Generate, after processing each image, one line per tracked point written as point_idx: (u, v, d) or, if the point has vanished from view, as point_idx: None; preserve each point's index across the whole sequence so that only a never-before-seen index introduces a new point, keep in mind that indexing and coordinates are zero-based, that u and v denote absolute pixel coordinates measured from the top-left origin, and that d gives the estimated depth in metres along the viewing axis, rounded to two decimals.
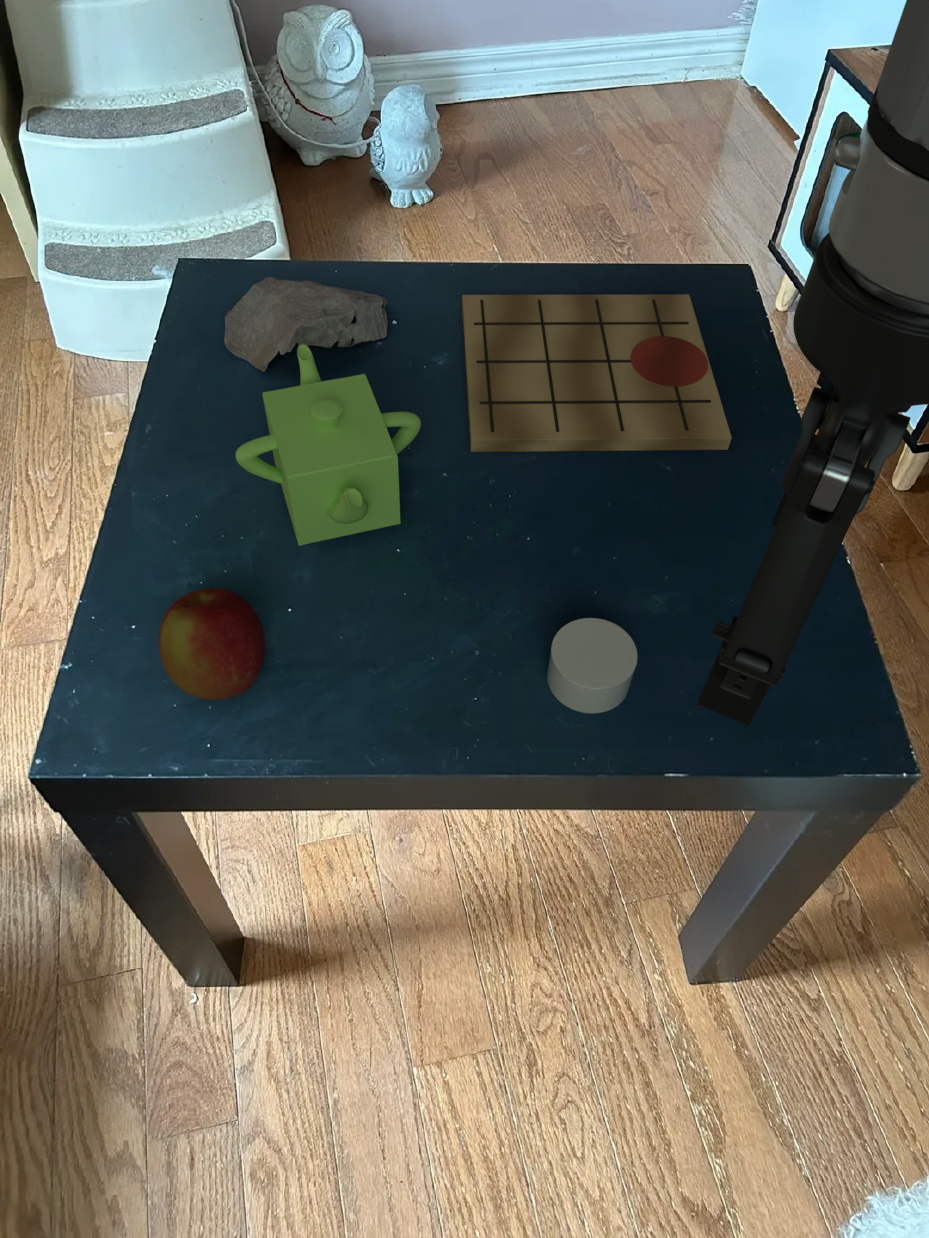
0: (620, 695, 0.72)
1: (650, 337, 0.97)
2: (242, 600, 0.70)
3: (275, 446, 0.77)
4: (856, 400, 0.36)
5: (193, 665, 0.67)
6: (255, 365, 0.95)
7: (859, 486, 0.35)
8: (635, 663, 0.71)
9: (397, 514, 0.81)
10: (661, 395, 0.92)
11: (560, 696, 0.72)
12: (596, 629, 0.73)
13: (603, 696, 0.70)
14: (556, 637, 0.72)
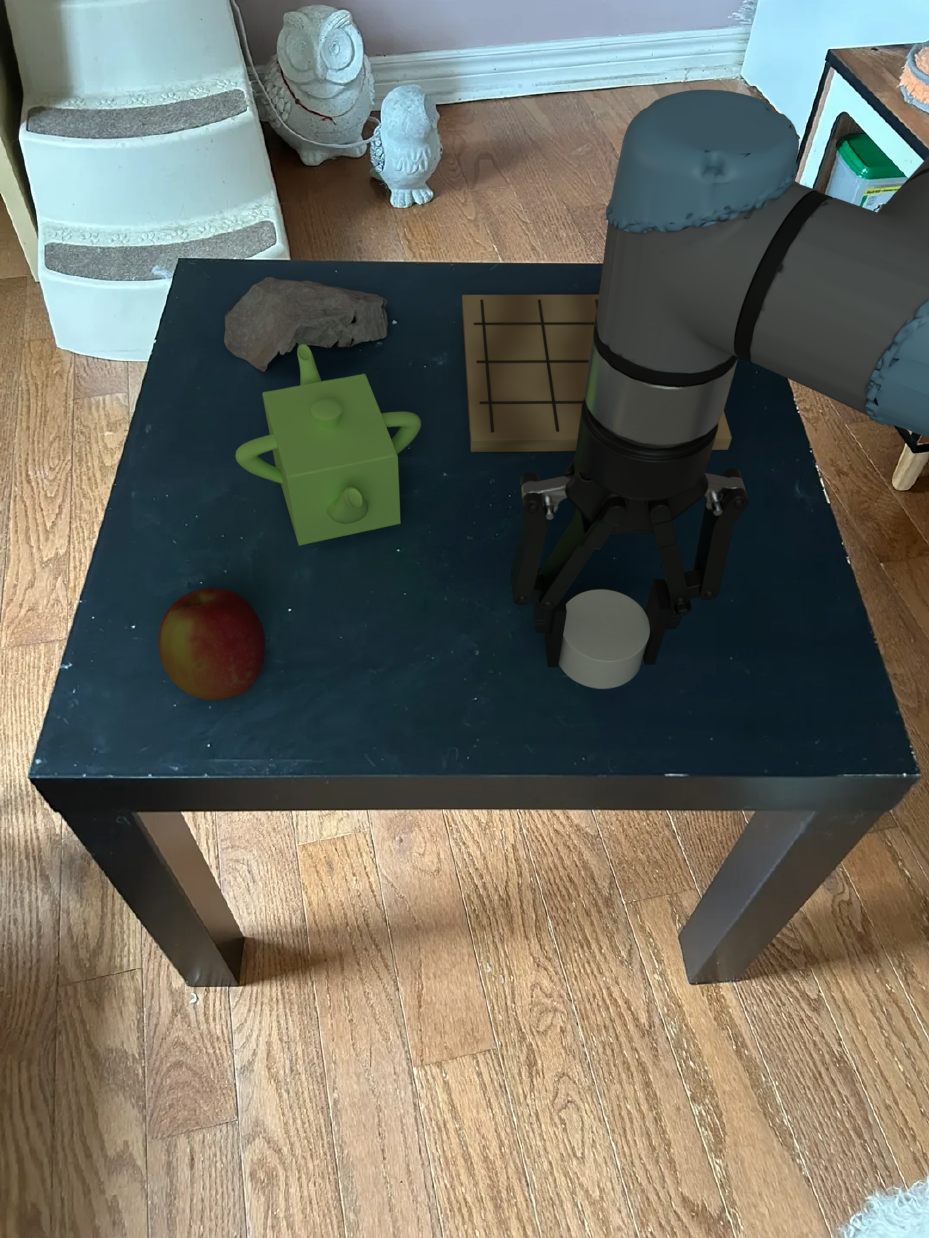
0: (632, 669, 0.68)
1: None
2: (242, 600, 0.70)
3: (275, 446, 0.77)
4: (575, 455, 0.56)
5: (193, 665, 0.67)
6: (255, 365, 0.95)
7: (523, 503, 0.57)
8: (647, 635, 0.68)
9: (397, 514, 0.81)
10: None
11: (569, 671, 0.69)
12: (606, 601, 0.70)
13: (614, 670, 0.67)
14: None
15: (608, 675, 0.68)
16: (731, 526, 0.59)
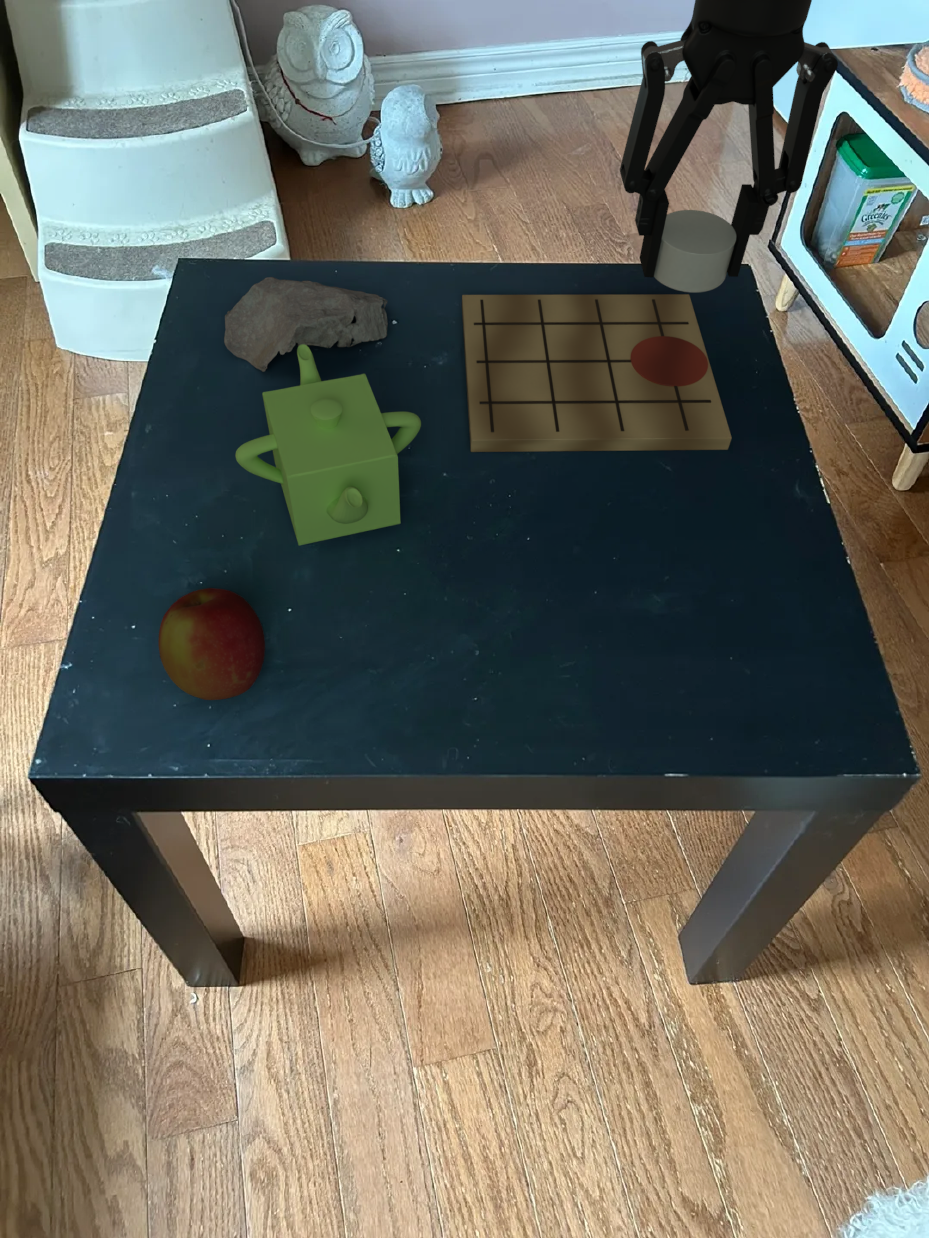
0: (720, 272, 0.78)
1: (650, 337, 0.97)
2: (242, 600, 0.70)
3: (275, 446, 0.77)
4: (693, 13, 0.65)
5: (193, 665, 0.67)
6: (255, 365, 0.95)
7: (646, 62, 0.66)
8: (735, 239, 0.78)
9: (397, 514, 0.81)
10: (661, 395, 0.92)
11: (664, 277, 0.79)
12: (696, 217, 0.79)
13: (706, 267, 0.77)
14: None
15: (700, 274, 0.78)
16: (820, 96, 0.69)
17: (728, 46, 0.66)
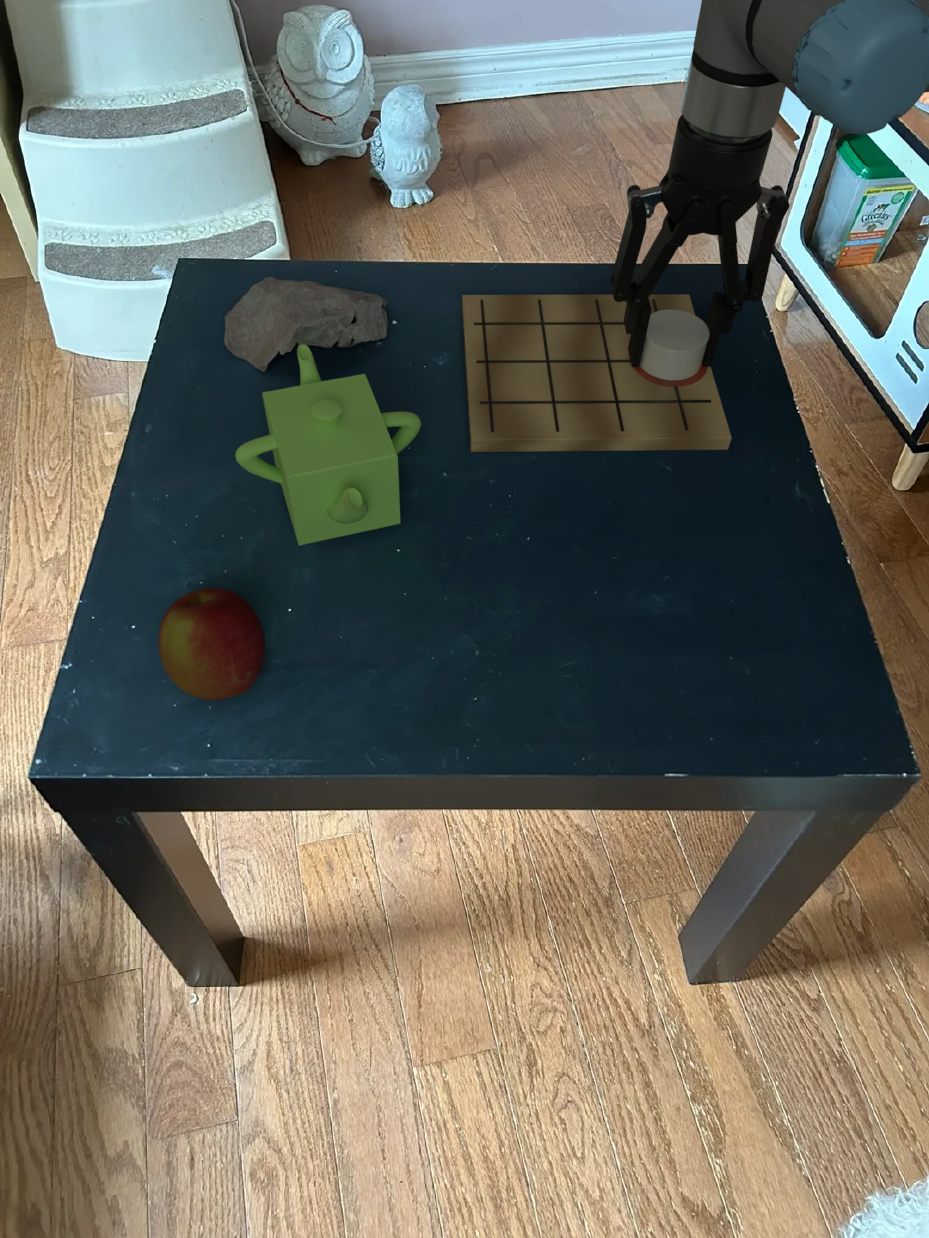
0: (695, 364, 0.92)
1: None
2: (242, 600, 0.70)
3: (275, 446, 0.77)
4: (669, 166, 0.79)
5: (193, 665, 0.67)
6: (255, 365, 0.95)
7: (630, 204, 0.81)
8: (708, 337, 0.92)
9: (397, 514, 0.81)
10: (661, 395, 0.92)
11: (648, 367, 0.93)
12: (676, 316, 0.93)
13: (683, 361, 0.91)
14: None
15: (678, 366, 0.92)
16: (776, 229, 0.83)
17: (698, 192, 0.80)
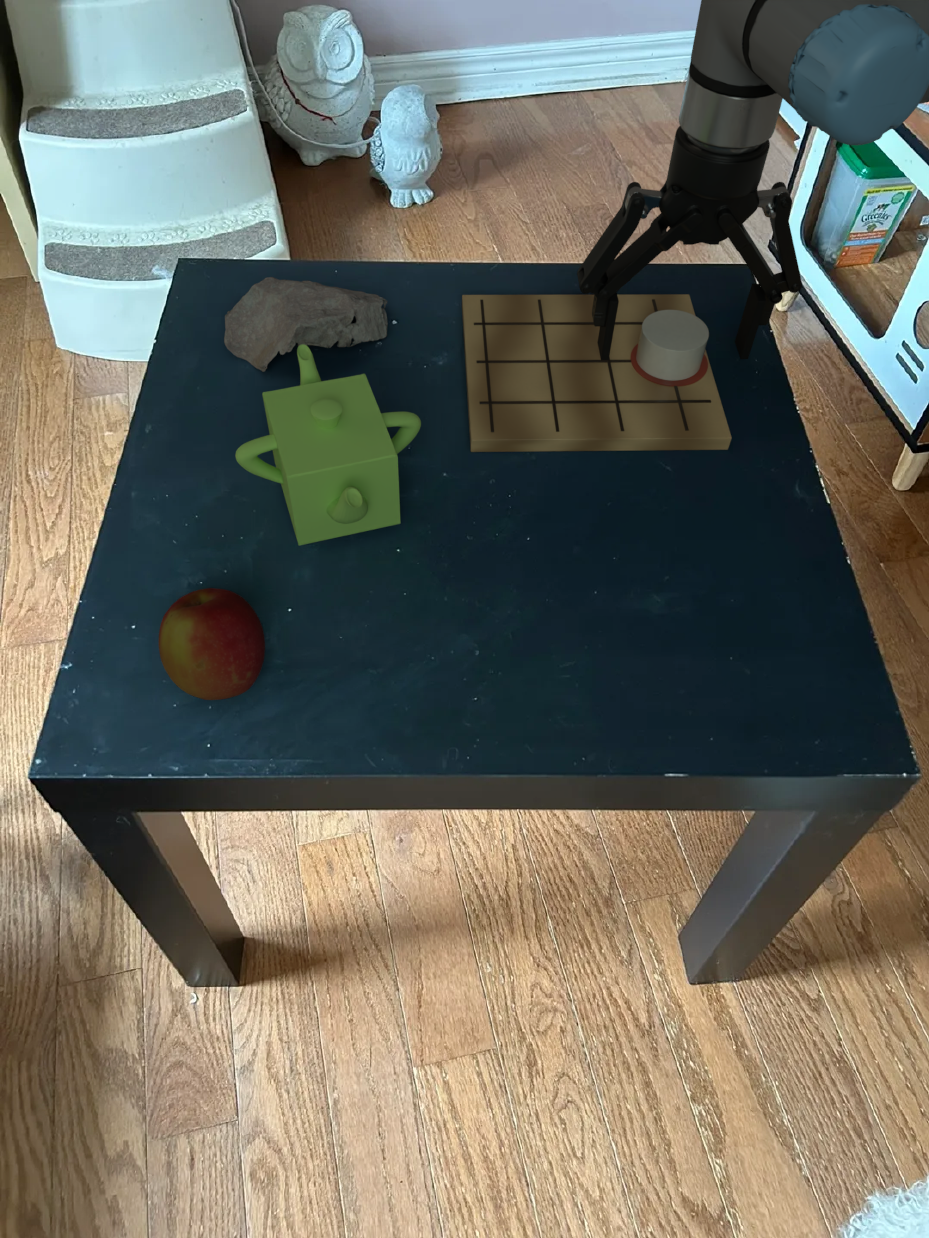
0: (695, 364, 0.92)
1: None
2: (242, 600, 0.70)
3: (275, 446, 0.77)
4: (667, 176, 0.80)
5: (193, 665, 0.67)
6: (255, 365, 0.95)
7: (631, 198, 0.80)
8: (707, 336, 0.92)
9: (397, 514, 0.81)
10: (661, 395, 0.92)
11: (648, 367, 0.93)
12: (675, 316, 0.93)
13: (683, 361, 0.91)
14: (645, 321, 0.93)
15: (678, 366, 0.92)
16: (787, 224, 0.82)
17: (696, 202, 0.80)
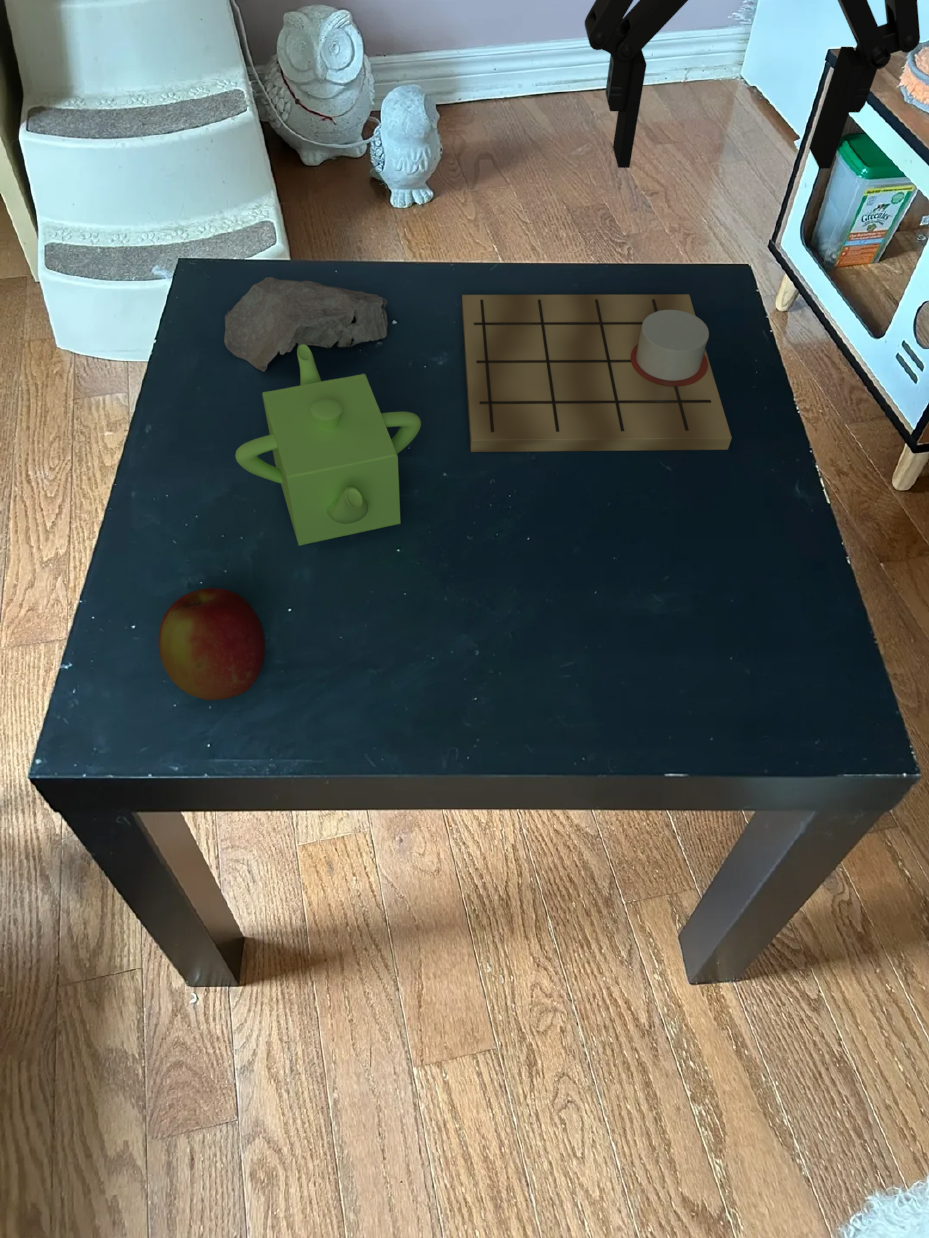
0: (695, 364, 0.92)
1: None
2: (242, 600, 0.70)
3: (275, 446, 0.77)
4: None
5: (193, 665, 0.67)
6: (255, 365, 0.95)
7: None
8: (707, 336, 0.92)
9: (397, 514, 0.81)
10: (661, 395, 0.92)
11: (648, 367, 0.93)
12: (675, 316, 0.93)
13: (683, 361, 0.91)
14: (645, 321, 0.93)
15: (678, 366, 0.92)
16: None
17: None
